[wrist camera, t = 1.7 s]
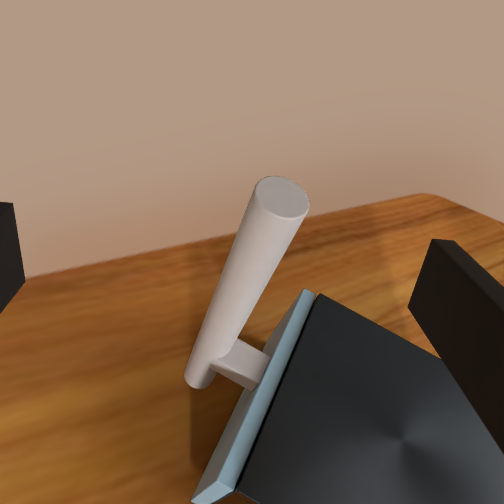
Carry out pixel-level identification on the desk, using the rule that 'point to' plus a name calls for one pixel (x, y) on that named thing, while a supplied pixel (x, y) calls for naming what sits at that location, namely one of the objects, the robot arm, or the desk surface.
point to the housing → (368, 425)
